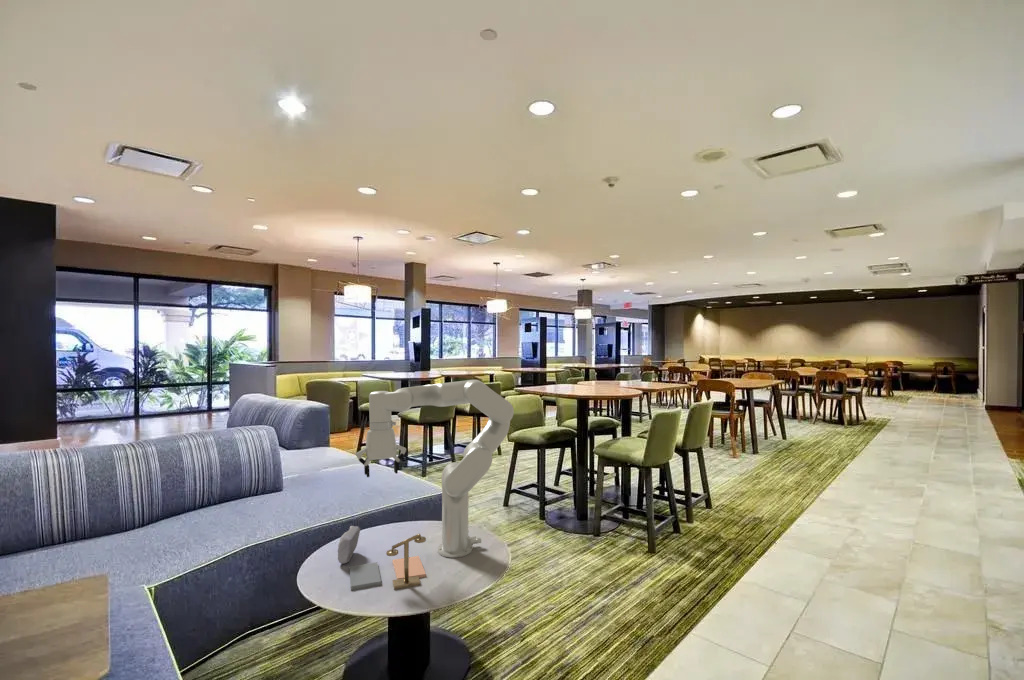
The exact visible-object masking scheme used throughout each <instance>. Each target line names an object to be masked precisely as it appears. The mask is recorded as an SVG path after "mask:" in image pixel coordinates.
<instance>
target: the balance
mask: <svg viewBox="0 0 1024 680" xmlns="http://www.w3.org/2000/svg"><path fill="white" fill-rule="evenodd" d="M412 541H414V542H415V543H417V544H421V543H422V544H423V543H425V542H426V541H427V537H426V536H422V535H421V533H418V534H415V535H413V536H411V537H408V538H407V539H405V540H401V541H400V542H398V543H396V544H394V545H391V549H388V550H386V551H385V552H386V553H385V554H386V556H388V557H395V556H398V555H399V550H398V548H399V547H401V546H403V558H404V578H402V579H393V580H392V587H393V590H394V591H395V590H399V589H404V588H410V587H416V586H420V585H421V579H420V578H419V577H418V576H414V577H409V557H410V556H409V554H410V553H409V552H410V547H409V546H410V545H409V544H410V542H412ZM396 548H397V549H396Z"/></svg>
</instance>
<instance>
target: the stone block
mask: <svg viewBox="0 0 1024 680" xmlns="http://www.w3.org/2000/svg"><path fill="white" fill-rule="evenodd" d="M360 532H361V527H360V526H357V525H356V526H354V525H351V526H349V529H348V530H347V531H345V532H344V533H343V534H342V535H341V536H340V538H339V542H338V544H337V545H338V548H337V560H338V561H337V562H339V563H340V564H343V565H344V564H347V563H349V562H350V560H351V559H352V556H353V555H354V552H355V550H356V548H357V546H358V542H359V537H360Z"/></svg>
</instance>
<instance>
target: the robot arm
mask: <svg viewBox="0 0 1024 680" xmlns="http://www.w3.org/2000/svg"><path fill="white" fill-rule="evenodd" d="M368 402H369V403H368V407H369V408H368V410H369V411H368V412H369V416H368V417H369V430H367V432H366V439H365V441H366V442H365V447H364V448H363V449H361V450H359V451H357V452H355V457H356V458H357V459H358V461H359V462H360V463H361V464H362V465H363V466H364V467H363V469H364V475H365V476H366V478H370V465H369V464H370V463H371V461H372V460H373V461H375V460H384V459H391V458H393V459H394V461H393V472H394V473H395V474H398V473H399V472H398V471H400V461H401V459H402V458H403V457H404V456H405V453H407V448H406V447H404V446H402V445H399V444H397V442H396V441H397V440H396V434H395V429H394V428H393V426H396V425H397V423H396V421H393V420H392V419H393V418H392V412H400V413H404V412H406V411H409V410H410V409H411V408H413V407H421V406H434V407H437V408H438V407H440V408H442V407H443V408H444V407H450V406H452V407H453V406H459V405H460V406H461V405H466V404H468V405H469V404H471V406H473V407H475V408H476V409H477V410H479V412H481V413H483V414H484V415H485V416H486V417H488V420H487V423H486V424H485V426H484V427H483V429H482V430H481V431H480V432H479V433H478V434H477V435H476V436H475V437H474V439H473V440H471V441H470V443H468V445H466V447H465V448H464V450H463V454H462V455H463V458H462V459H461V460H460V461H459V462H455V461H454V462H449V463H448V464H447V465H446V466H445V467H444V468H443V470H442V472H441V505H442V506H441V509H442V510H441V544H439V546H438V547H437V553H438V555H440V556H442V557H444V558H445V557H446V558H449V559H450V558H451V559H452V558H453V559H454V558H462V557H465V556H467V555H470V553H472V552H473V548H474V547H473V545H475V544H482V537H476V536H470V535H469V508H470V507H469V506H470V505H469V492H470V491H471V490H472V489H473V488H474V487H475V486H476V485H477V484H478V483H479V482H480V481H481V480H482V478H483V477H484V476H485V475H486V474H487V472H488V471H489V470H490V468H491V466H492V463H493V454H494V452H495V451H496V450H497V449H498V448H499V446H500V445H501V444H502V443H503V441H504V440H505V439H506V437H507V436H508V434H509V431H510V426H511V420H512V419H513V417H514V414H515V413H514V412H515V409H514V407H513V405H512V403H511V402H509V401H508V400H507V399H506V398H504V397H503V396H501V394H499V393H497V392H496V391H494V390H493V389H491V388H490V387H489V386H488V385H487V384H485V383H484V382H482V381H481V380H479V379H467V380H465V379H464V380H460V381H459V380H458V381H450V382H442V383H441V382H440V383H434V384H425V385H415V386H409V387H401V388H398V389H396V390H394V391H391V392H390V391H388V390H376V391H372V392H370V393H369V395H368ZM397 449H398V450H399V451H400V453H399V454H398V455H397V453H398V452H397ZM364 454H365V455H366V458H365V459H364V458H363V457H362V455H364Z"/></svg>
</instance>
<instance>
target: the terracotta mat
mask: <svg viewBox="0 0 1024 680" xmlns="http://www.w3.org/2000/svg"><path fill="white" fill-rule="evenodd" d="M392 567H393V571H394V574H395V578H396V579H402V578H404V557H403V558H396V559H392ZM414 576H418V577H419V579H420V578H427V577H426V576H427V574H426V571H425V569H424V565H423V563H422V561H421V557H420V556H419V555H414V556H409V577H414ZM396 579H395V580H396Z"/></svg>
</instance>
